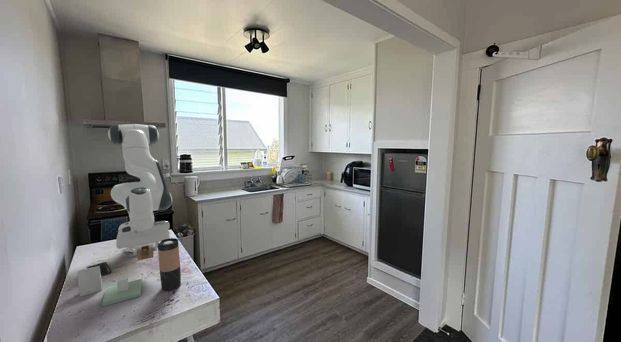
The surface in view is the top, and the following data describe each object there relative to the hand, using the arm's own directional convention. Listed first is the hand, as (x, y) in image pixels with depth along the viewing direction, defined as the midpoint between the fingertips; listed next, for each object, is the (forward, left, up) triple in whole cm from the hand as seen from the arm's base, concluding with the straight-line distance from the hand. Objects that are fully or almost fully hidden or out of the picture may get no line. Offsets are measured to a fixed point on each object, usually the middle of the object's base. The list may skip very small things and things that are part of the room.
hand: (145, 252), depth 115 cm
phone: (-17, -20, -11) cm, 29 cm away
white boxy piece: (+3, -19, -11) cm, 23 cm away
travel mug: (+17, +9, -11) cm, 22 cm away
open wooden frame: (0, 0, -2) cm, 2 cm away
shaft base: (+12, -8, -11) cm, 18 cm away
